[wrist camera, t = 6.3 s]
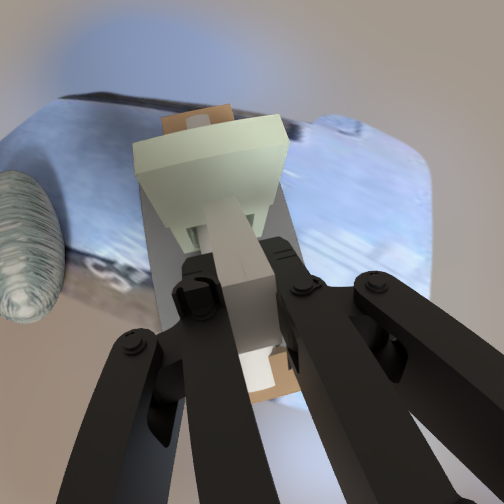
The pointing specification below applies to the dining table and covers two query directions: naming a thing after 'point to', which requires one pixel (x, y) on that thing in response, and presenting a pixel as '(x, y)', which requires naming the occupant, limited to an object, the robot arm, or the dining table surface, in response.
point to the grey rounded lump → (28, 250)
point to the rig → (172, 256)
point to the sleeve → (212, 172)
